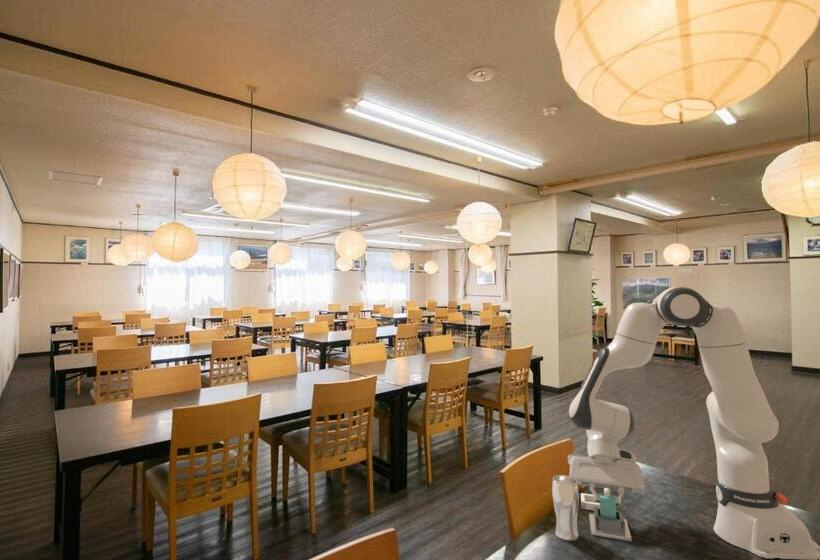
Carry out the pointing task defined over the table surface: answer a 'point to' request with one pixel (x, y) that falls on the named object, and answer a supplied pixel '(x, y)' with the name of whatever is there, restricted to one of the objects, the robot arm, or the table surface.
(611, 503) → the teal bottle
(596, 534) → the port
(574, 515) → the beer glass
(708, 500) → the table surface
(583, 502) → the white shallow rectangular tray
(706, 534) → the table surface
